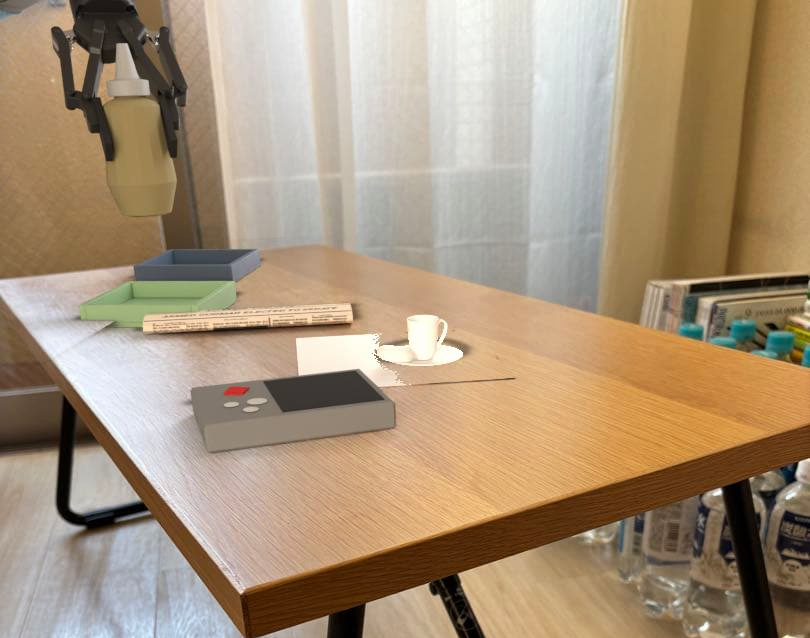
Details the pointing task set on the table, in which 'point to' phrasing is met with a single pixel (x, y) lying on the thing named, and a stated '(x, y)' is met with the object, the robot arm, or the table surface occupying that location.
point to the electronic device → (290, 409)
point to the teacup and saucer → (359, 349)
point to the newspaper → (247, 318)
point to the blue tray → (198, 265)
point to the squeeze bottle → (137, 144)
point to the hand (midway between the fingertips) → (141, 150)
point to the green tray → (157, 300)
